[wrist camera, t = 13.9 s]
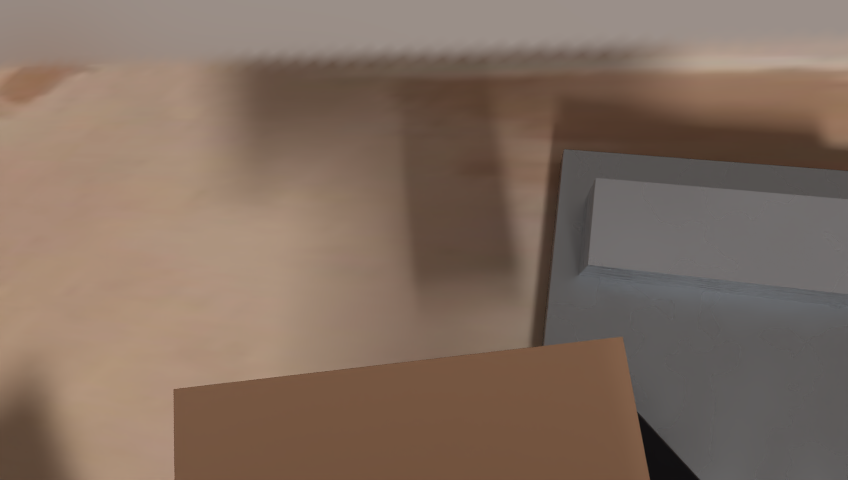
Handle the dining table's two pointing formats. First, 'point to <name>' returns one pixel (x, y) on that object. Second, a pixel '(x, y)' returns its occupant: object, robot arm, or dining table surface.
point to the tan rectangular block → (422, 420)
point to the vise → (714, 303)
